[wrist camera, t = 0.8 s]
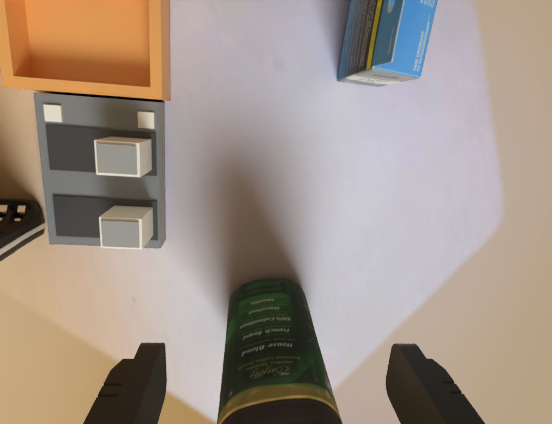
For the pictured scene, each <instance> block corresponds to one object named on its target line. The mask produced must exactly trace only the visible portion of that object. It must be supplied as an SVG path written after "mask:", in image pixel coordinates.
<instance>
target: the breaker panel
mask: <svg viewBox="0 0 552 424" xmlns="http://www.w3.org/2000/svg"><path fill="white" fill-rule="evenodd" d="M34 100H35V110H36V119H37V129H38V138H39V148H40V157H41V167H42V176H43V185H44V195H45V204H46V214H47V223H48V233H49V242H50V244H64V245H89V246H101V242H100V226H99V217H100V216H101V215H102V214H104V213H105V212H106V211H108V210H109V209H111V208H112V207H113V206H135V207H153V236H152V237H151V239H150V240H149V241H148V243H147V244H146V245H145V247H144V248H161V247H162V245H163V243H164V242H165V240H166V231H165V136H164V103H162V102H149V101H136V100H124V99H111V98H98V97H85V96H72V95H59V94H47V93H34ZM106 137H126V138H140V139H151V149H152V170H151V171H149V172H148V173H146V174H145V175H143V176H142V177H127V176H109V175H96V163H95V148H94V140H96V139H101V138H106Z"/></svg>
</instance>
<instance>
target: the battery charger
mask: <svg viewBox="0 0 552 424" xmlns="http://www.w3.org/2000/svg"><path fill="white" fill-rule="evenodd" d="M44 228H45V223H44V222H43V217H42V214H41V211H40V209H39V207H38V205H37V204H35V203H34V202H33V201H29V200H17V199H0V261H2V260H3V259H5V258H6V257H8V256H9V255H11V254H12V253H14V252H15V251H17V250H18V249H19V248H21V247H22V246H24V245H26V244H27V243H29V242H31V241H32V240H34V239H36V238H37V237H39V236H41V235H42V234H43V233H44Z"/></svg>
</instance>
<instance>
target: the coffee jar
mask: <svg viewBox="0 0 552 424" xmlns="http://www.w3.org/2000/svg"><path fill="white" fill-rule="evenodd" d="M217 424H342V421H341V418H340V415H339V412H338V408H337V405H336V402H335V399H334V395H333V392H332V389H331V385H330V382H329V378H328V375H327V371H326V368H325V364H324V361H323V358H322V354H321V351H320V347H319V344H318V341H317V337H316V334H315V330H314V326H313V322H312V318H311V315H310V311H309V308H308V304H307V301H306V297H305V294H304V292H303V290H302V289H301V288H300V287H299V286H298V285H297V284H296V283H294V282H292V281H289V280H286V279H267V280H259V281H255V282H251V283H248V284H245V285H243V286H241V287H240V288H238V289H237V290H236V291H235V292H234V293H233V295H232V297H231V299H230V302H229V309H228V319H227V331H226V342H225V353H224V362H223V373H222V383H221V392H220V403H219V412H218V419H217Z"/></svg>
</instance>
